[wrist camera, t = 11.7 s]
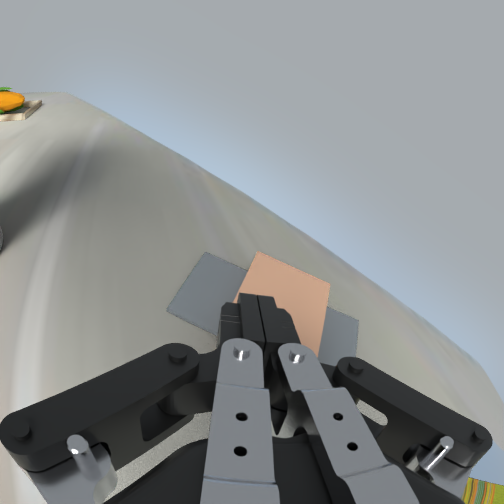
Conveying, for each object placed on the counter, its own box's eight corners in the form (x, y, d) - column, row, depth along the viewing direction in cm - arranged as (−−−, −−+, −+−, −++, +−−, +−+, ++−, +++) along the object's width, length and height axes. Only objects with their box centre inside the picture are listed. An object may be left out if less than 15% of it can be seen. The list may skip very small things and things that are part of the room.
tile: (222, 324, 27) (257, 250, 37) (216, 338, 29) (251, 265, 38) (316, 364, 27) (330, 283, 36) (304, 374, 29) (320, 296, 38)
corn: (-6, 86, 48) (35, 82, 49) (-7, 110, 52) (33, 109, 53) (-24, 92, 41) (16, 87, 43) (-24, 117, 46) (15, 116, 47)
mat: (166, 311, 30) (166, 308, 30) (204, 254, 38) (205, 251, 38) (349, 388, 29) (352, 387, 29) (356, 322, 37) (358, 320, 37)
